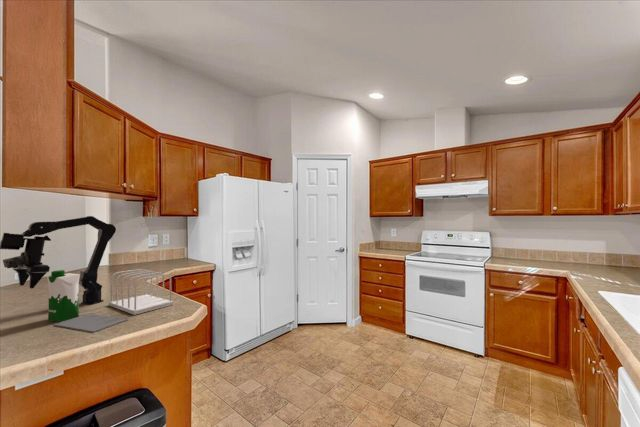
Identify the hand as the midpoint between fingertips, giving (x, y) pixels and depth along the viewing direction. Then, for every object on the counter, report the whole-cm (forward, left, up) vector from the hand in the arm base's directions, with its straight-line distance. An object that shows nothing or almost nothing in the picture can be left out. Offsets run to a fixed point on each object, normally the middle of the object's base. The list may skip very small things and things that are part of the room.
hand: (26, 286), depth 123 cm
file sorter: (-25, +35, -13) cm, 45 cm away
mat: (-2, +37, -12) cm, 39 cm away
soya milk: (-2, +20, -12) cm, 24 cm away
